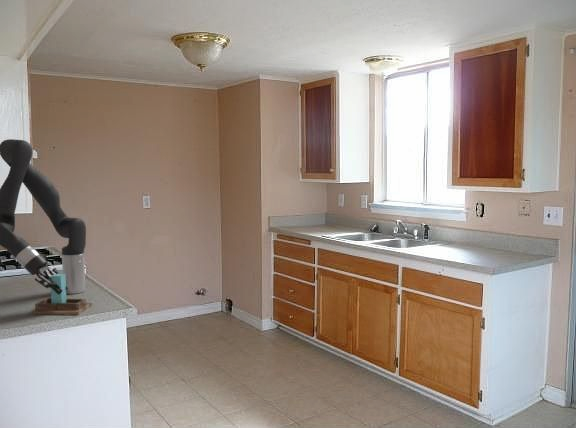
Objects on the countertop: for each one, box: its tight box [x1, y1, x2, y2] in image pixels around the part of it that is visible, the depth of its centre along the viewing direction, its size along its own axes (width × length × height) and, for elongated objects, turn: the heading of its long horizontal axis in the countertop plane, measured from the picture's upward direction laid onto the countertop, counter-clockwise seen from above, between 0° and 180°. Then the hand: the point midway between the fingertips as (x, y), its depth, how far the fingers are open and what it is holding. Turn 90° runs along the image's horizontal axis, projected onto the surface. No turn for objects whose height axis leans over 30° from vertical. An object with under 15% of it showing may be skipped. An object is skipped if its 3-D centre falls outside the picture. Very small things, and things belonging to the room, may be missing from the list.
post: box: [50, 273, 67, 303], centre depth 203 cm, size 4×4×12 cm
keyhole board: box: [30, 297, 93, 316], centre depth 204 cm, size 13×18×4 cm
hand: (63, 291), depth 203 cm, fingers closed on post, 4 cm apart
